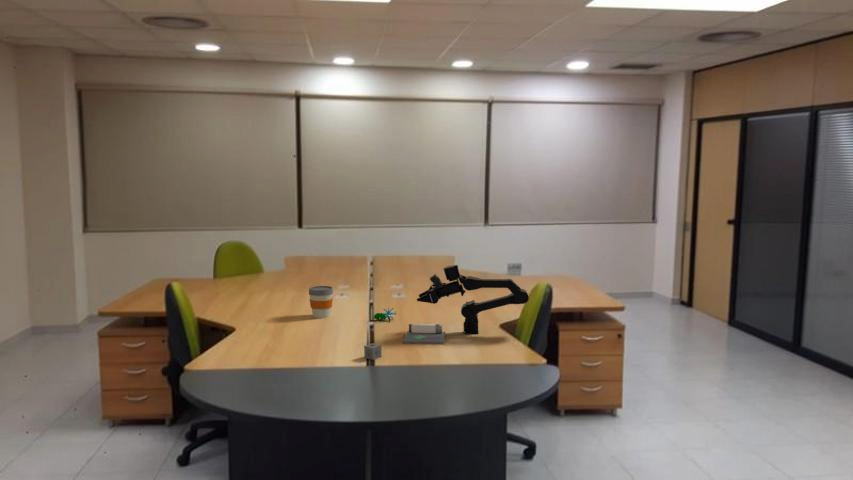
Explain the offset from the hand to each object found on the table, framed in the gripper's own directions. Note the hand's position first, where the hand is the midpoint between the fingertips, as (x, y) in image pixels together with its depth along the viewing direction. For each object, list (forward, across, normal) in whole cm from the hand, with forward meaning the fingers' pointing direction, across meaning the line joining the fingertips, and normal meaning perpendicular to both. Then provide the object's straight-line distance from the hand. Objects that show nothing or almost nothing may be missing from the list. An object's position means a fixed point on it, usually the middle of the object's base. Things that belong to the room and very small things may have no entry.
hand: (417, 298), depth 299 cm
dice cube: (+19, +41, +12) cm, 47 cm away
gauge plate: (+1, +12, +17) cm, 21 cm away
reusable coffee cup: (+56, -27, 0) cm, 62 cm away
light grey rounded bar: (0, +7, +15) cm, 17 cm away
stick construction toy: (+23, -20, +10) cm, 32 cm away
